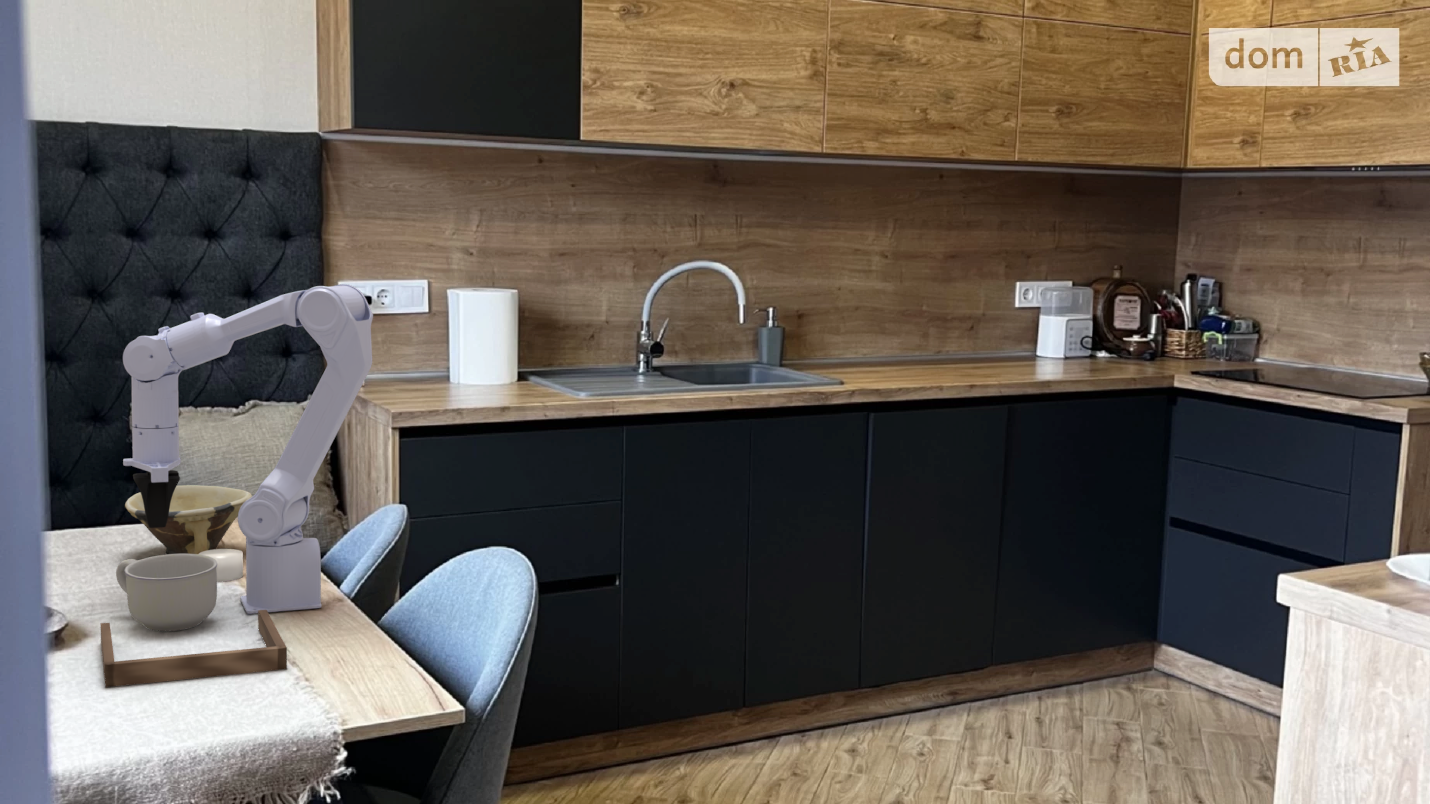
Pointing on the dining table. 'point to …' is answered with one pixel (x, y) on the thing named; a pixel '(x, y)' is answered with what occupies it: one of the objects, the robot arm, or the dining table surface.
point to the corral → (195, 660)
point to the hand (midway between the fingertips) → (157, 526)
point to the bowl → (194, 517)
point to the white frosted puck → (227, 563)
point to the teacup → (169, 590)
